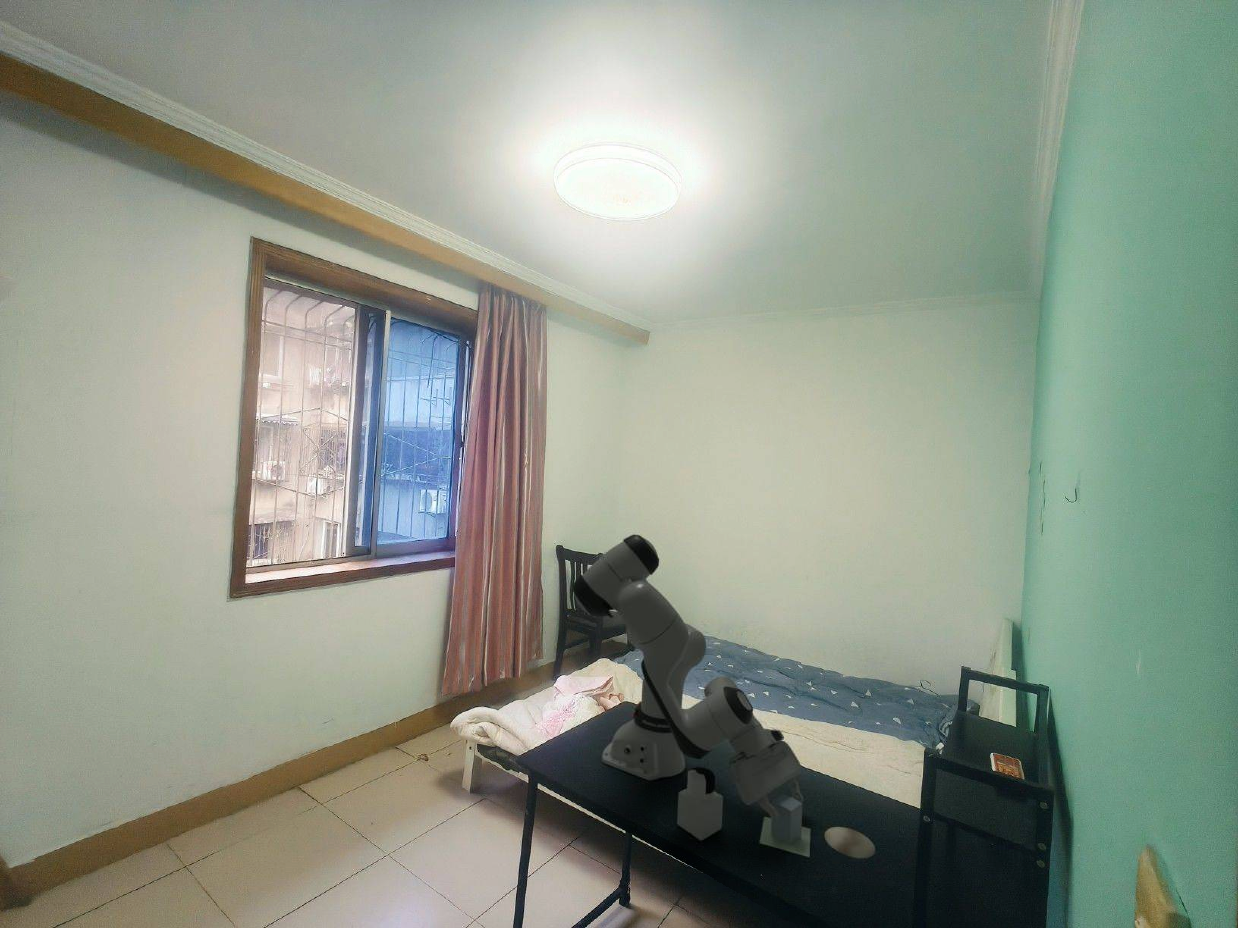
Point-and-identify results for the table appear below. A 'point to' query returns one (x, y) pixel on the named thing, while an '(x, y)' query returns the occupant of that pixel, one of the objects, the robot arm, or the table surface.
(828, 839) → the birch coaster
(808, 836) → the sage mat
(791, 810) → the grey block
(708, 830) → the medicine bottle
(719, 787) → the table surface
